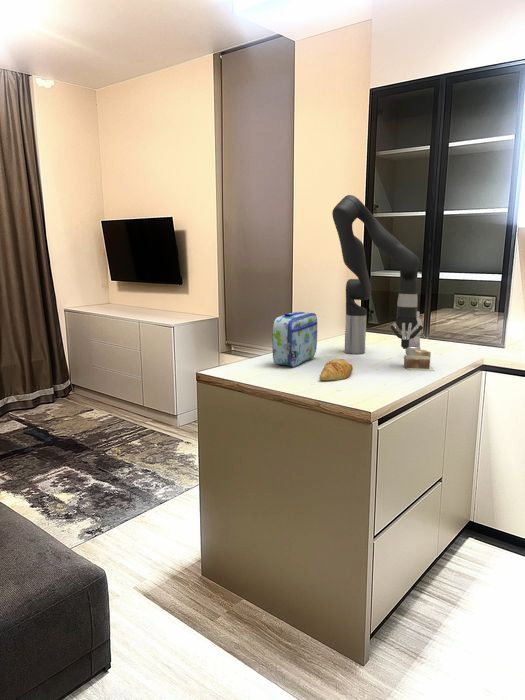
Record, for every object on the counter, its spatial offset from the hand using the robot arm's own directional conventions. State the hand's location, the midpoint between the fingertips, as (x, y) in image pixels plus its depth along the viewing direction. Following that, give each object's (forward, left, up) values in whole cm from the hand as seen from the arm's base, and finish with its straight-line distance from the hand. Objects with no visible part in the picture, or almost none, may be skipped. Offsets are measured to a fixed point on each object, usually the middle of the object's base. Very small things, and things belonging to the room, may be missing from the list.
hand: (404, 348), depth 208 cm
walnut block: (0, 0, -5) cm, 5 cm away
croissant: (-27, -20, -8) cm, 35 cm away
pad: (+6, 0, -8) cm, 10 cm away
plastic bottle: (+6, +22, -8) cm, 24 cm away
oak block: (+8, +10, -8) cm, 15 cm away
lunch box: (-44, +2, -8) cm, 44 cm away
